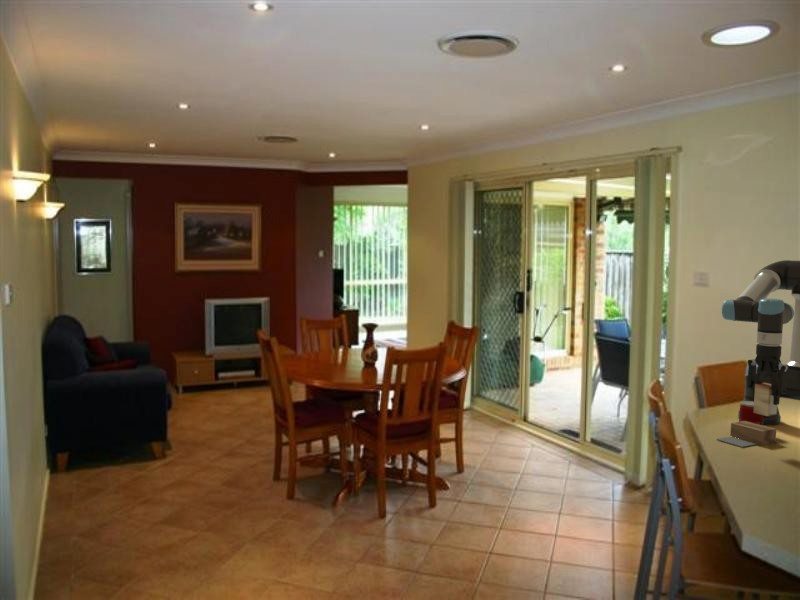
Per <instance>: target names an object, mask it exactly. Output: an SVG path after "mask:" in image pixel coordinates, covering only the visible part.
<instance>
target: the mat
mask: <svg viewBox="0 0 800 600" xmlns="http://www.w3.org/2000/svg"><path fill="white" fill-rule="evenodd" d="M718 440H719V441H718ZM716 441H718V442H721V441H723V442H722V443H724V442H726V443H725V444H728V443H730V444H729V445H731V444H733V445H732V446H734V445H736V447H738V446H740V447H739V448H741V447H744V448H748V446H749V447H752V446H753V447H754V446H757V445H758V444H756V443H752V442H749V441H745V440H742V439H738V438H735V437H730V436H727V437H721V438H717V439H716Z"/></svg>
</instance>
